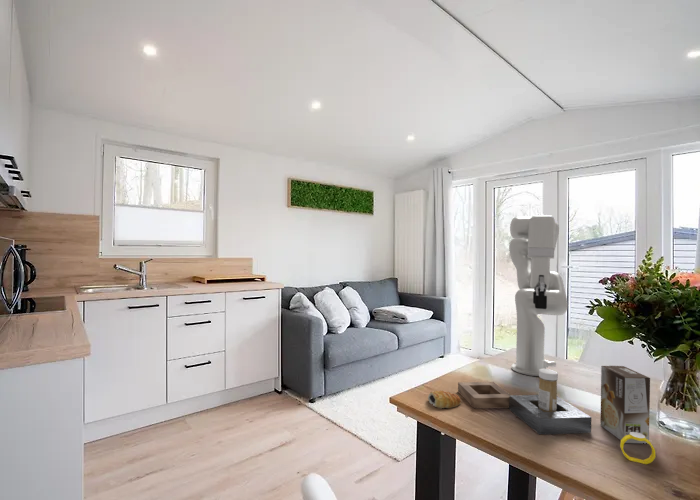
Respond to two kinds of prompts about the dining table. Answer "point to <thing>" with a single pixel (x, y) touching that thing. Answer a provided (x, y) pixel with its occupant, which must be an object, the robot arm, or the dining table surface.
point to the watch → (640, 438)
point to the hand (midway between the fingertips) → (539, 306)
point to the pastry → (444, 399)
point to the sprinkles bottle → (548, 390)
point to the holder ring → (484, 394)
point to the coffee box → (625, 402)
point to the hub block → (550, 416)
